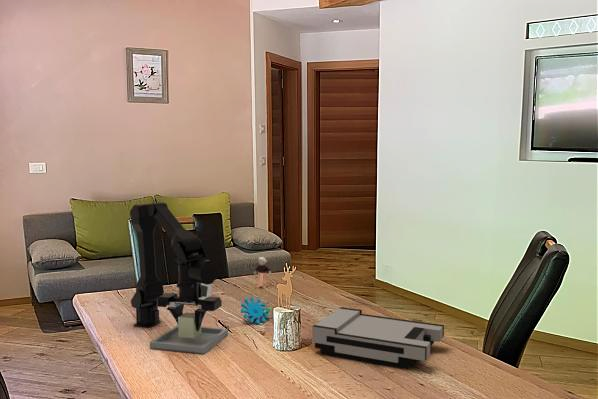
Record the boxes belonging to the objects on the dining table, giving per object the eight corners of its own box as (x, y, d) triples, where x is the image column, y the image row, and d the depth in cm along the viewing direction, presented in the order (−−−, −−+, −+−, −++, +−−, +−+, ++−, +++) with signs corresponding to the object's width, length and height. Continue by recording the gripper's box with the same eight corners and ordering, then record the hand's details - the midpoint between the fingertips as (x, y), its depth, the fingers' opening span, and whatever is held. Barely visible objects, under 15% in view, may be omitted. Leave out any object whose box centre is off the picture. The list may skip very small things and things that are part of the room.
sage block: (178, 336, 172) (177, 317, 171) (186, 331, 176) (186, 312, 176) (193, 338, 170) (193, 318, 170) (201, 332, 175) (201, 313, 174)
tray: (150, 348, 168) (149, 342, 168) (178, 330, 184) (178, 324, 184) (203, 354, 163) (203, 347, 163) (227, 335, 179) (227, 328, 179)
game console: (424, 374, 149) (425, 343, 148) (312, 354, 163) (312, 326, 162) (443, 348, 167) (444, 320, 166) (341, 332, 182) (341, 307, 181)
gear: (244, 322, 186) (239, 295, 192) (238, 331, 190) (233, 305, 196) (275, 322, 192) (269, 295, 198) (269, 330, 195) (262, 305, 201)
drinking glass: (216, 302, 215) (215, 276, 214) (204, 307, 210) (203, 280, 209) (202, 300, 219) (202, 274, 218) (190, 304, 213) (189, 277, 212)
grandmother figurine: (252, 288, 236) (251, 257, 235) (254, 285, 240) (254, 255, 238) (270, 288, 235) (270, 258, 233) (272, 286, 238) (272, 256, 237)
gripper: (228, 274, 176) (229, 324, 178) (173, 270, 182) (175, 319, 183) (212, 283, 166) (214, 336, 167) (155, 279, 171) (156, 330, 173)
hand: (189, 329), depth 173 cm, fingers closed on sage block, 5 cm apart
